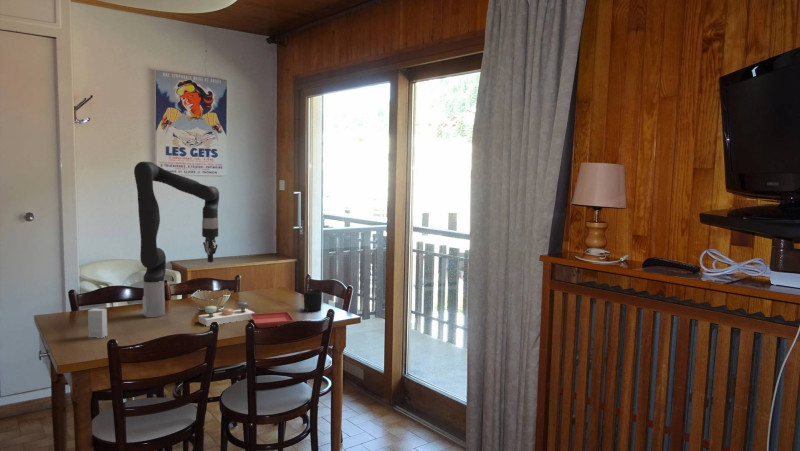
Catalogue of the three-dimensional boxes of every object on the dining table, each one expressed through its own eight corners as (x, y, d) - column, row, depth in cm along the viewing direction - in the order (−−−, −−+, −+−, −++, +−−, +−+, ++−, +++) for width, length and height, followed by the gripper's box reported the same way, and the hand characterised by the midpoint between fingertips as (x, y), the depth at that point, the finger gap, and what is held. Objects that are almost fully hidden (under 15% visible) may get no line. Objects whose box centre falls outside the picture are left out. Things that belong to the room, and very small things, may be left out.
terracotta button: (224, 321, 265) (224, 311, 265) (219, 319, 269) (219, 309, 269) (234, 320, 268) (234, 309, 268) (230, 317, 272) (230, 307, 272)
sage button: (207, 319, 260) (207, 308, 259) (203, 317, 264) (203, 306, 263) (218, 318, 263) (218, 307, 263) (214, 315, 267) (214, 305, 267)
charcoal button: (240, 314, 270) (240, 304, 270) (235, 312, 274) (235, 302, 274) (250, 313, 273) (250, 303, 273) (245, 311, 277) (245, 301, 277)
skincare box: (107, 335, 239) (107, 308, 238) (102, 338, 235) (102, 310, 234) (93, 335, 239) (92, 308, 238) (88, 338, 235) (87, 310, 234)
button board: (206, 326, 257) (206, 320, 257) (198, 321, 265) (198, 315, 265) (255, 318, 273) (255, 312, 272) (246, 314, 280) (246, 308, 280)
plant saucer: (250, 320, 271) (250, 313, 271) (287, 317, 278) (287, 311, 277) (254, 330, 254) (254, 323, 254) (294, 327, 261) (294, 320, 260)
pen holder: (302, 308, 296) (302, 289, 295) (320, 307, 298) (320, 289, 297) (304, 312, 287) (304, 293, 286) (322, 311, 289) (322, 293, 288)
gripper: (197, 226, 275) (197, 260, 277) (207, 228, 265) (207, 264, 267) (212, 225, 280) (212, 259, 282) (223, 228, 270) (223, 263, 272)
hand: (210, 262), depth 274 cm, fingers closed
